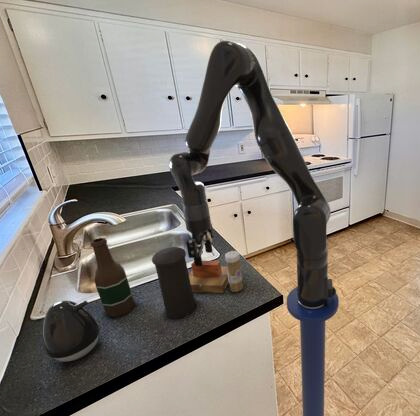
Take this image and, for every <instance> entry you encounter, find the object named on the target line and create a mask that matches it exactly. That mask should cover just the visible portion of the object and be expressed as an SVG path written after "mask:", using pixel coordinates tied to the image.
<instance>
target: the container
mask: <svg viewBox="0 0 420 416" xmlns="http://www.w3.org/2000/svg"><path fill="white" fill-rule="evenodd" d="M186 256H187V252H186V250H185V249H184V248H182V247H179V246H169V247H165V248H163V249H160V250H158V251H157V252H156V253H154V254H153V256H152V257H151V262H152V264H153V265H154V267H155V270H156V274H157V279H158V283H159V288H160V293H161V298H162V301H163V305H164V310H165V314H166V316H167V317H168V318H171V319H180V318H183V317H186V316H188V315H189V314H190V313H191V312H192V311H193V310H194V308H195V306H196V300H195V296H194V292H192V287H191V283H190V278H189V269H188V264H187V259H186Z"/></svg>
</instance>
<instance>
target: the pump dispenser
mask: <svg viewBox="0 0 420 416" xmlns="http://www.w3.org/2000/svg"><path fill="white" fill-rule="evenodd" d="M88 303H89V302H88V300H83V301H81V302H79V303H77V302H75V301H72V300H66V299H65V300H60V301H57V302H55V303H54V304H52V305H51V306H50V307H48V309H47V311H46V313H45V315H44V319H43V325H42V340H43V345H44V349H45V352H46V354H47V356H49V358H51V359H54V360H55V361H58V362H65V363H66V362H73V361H76V360H79V359H81V358H83V357H85V356H87V354H89V353H90V352H92V350H93V349H94V348H95V346H96V345H97V343H98V341H99V337H100V333H101V330H100V326H99V324H98V323H97V321H96V320H95V318H94V317H93V315H92V314H91V313H90V312H89V311H87V310H86V308H84V307H86V306H87V305H88Z"/></svg>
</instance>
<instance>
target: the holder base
mask: <svg viewBox="0 0 420 416" xmlns="http://www.w3.org/2000/svg"><path fill="white" fill-rule="evenodd" d="M221 271H222V273H221V275H220V277H194V276H193V271H192V270H191V271H190V272H188V274H189V278H190V283H191V287H192V292H193V293H211V294H212V293H215V294H217V293H219V294H223V293H224V292H225V290H226V288H227V286H228V285H229V280H228V273H227V265H226V266H224V265H221Z"/></svg>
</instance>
